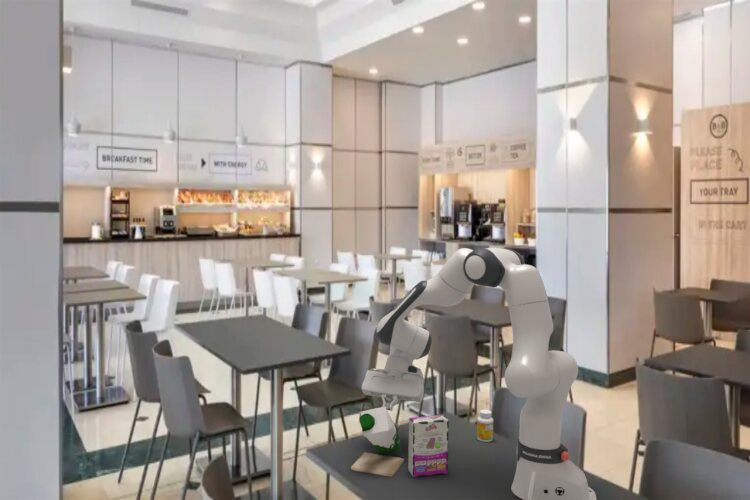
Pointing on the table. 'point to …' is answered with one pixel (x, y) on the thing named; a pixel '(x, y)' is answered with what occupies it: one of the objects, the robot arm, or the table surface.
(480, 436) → the supplement bottle
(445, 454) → the candy bar box
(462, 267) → the robot arm
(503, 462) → the table surface
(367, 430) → the soya milk
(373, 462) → the oak board
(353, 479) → the table surface
